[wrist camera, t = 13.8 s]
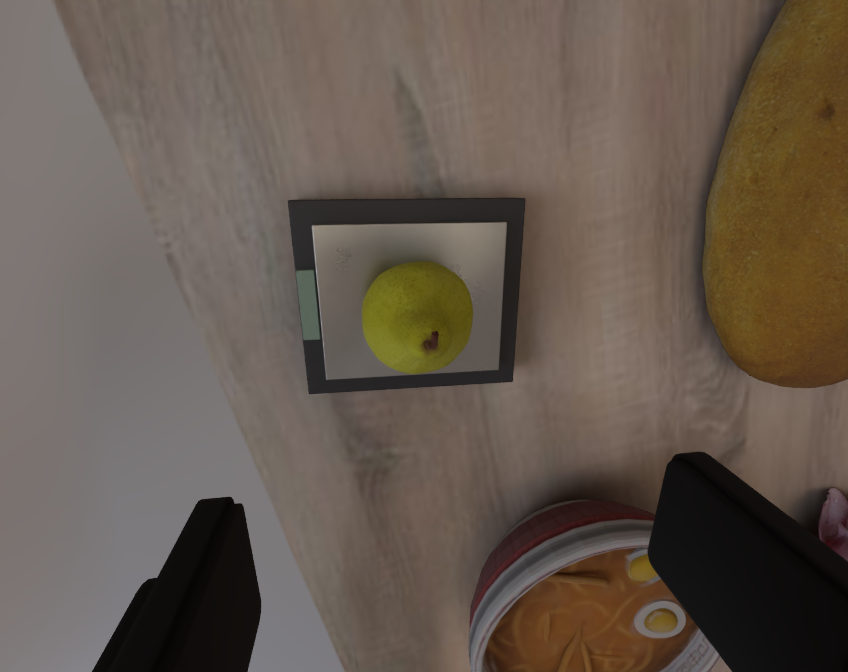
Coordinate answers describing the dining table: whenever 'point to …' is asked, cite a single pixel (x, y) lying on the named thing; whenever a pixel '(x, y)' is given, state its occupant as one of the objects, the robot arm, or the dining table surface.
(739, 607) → the robot arm
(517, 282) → the scale
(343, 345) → the scale pan
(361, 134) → the dining table surface
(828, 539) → the flower
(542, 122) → the dining table surface
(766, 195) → the bread
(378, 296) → the fruit
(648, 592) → the bowl
